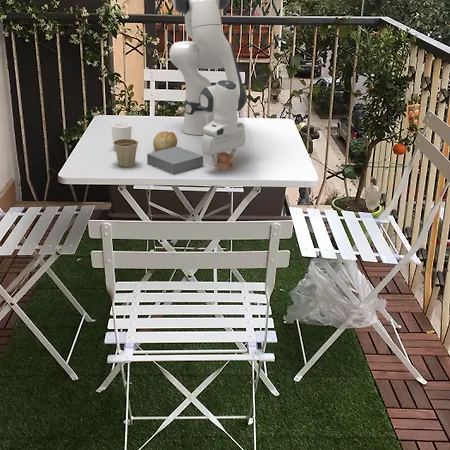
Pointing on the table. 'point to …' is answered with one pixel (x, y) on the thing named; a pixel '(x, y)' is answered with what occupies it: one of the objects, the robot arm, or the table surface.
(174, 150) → the plinth
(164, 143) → the bread roll
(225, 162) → the cube
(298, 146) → the table surface
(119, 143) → the flower pot
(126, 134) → the white cup
